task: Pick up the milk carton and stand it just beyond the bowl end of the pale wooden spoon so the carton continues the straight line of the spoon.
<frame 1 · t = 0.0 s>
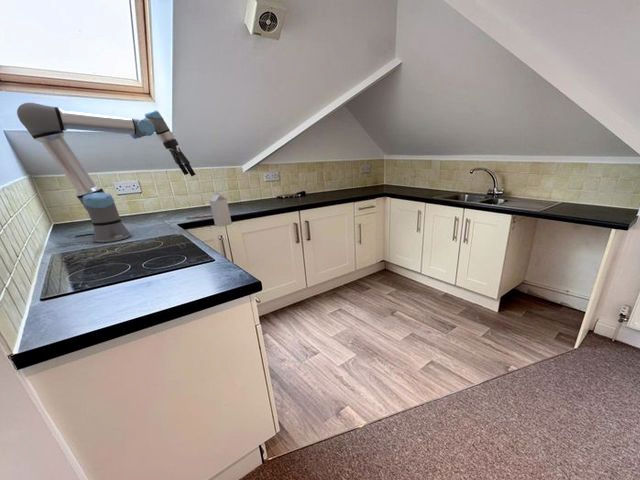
hand: (190, 174, 188), 28 cm above the worktop, tool tilted 20°, fingers open, 13 cm apart
milk carton: (223, 225, 183), on the worktop
wooden spoon: (200, 217, 203), on the worktop
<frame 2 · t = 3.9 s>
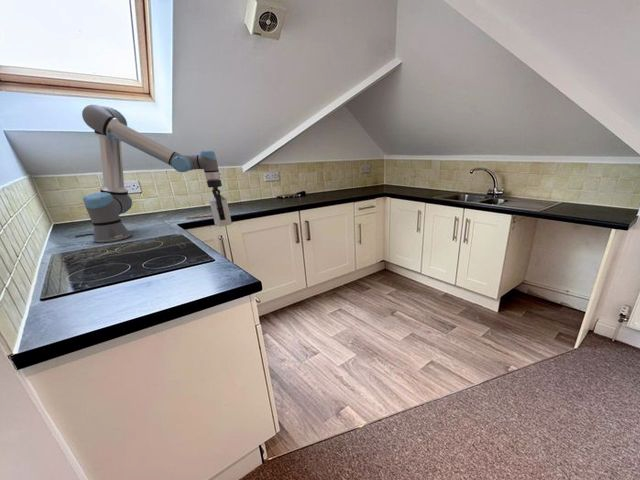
hand: (222, 218, 181), 4 cm above the worktop, tool pointing down, fingers closed on milk carton, 9 cm apart
milk carton: (223, 225, 183), on the worktop, touching gripper
everything else where it was.
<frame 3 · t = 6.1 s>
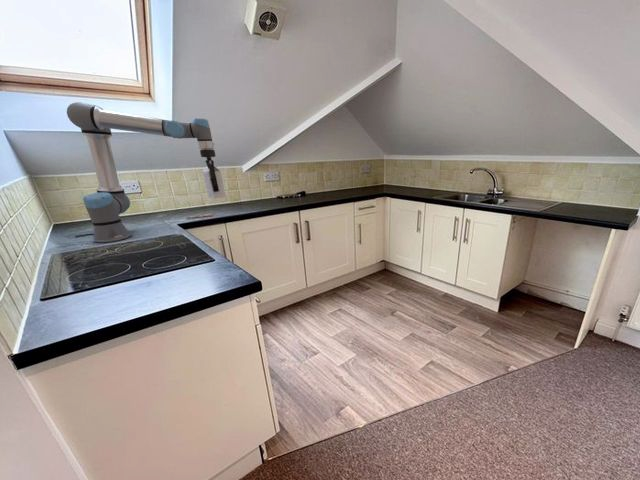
hand: (215, 190, 177), 20 cm above the worktop, tool pointing down, fingers closed on milk carton, 9 cm apart
milk carton: (217, 197, 179), point 16 cm above the worktop, touching gripper
everything else where it was.
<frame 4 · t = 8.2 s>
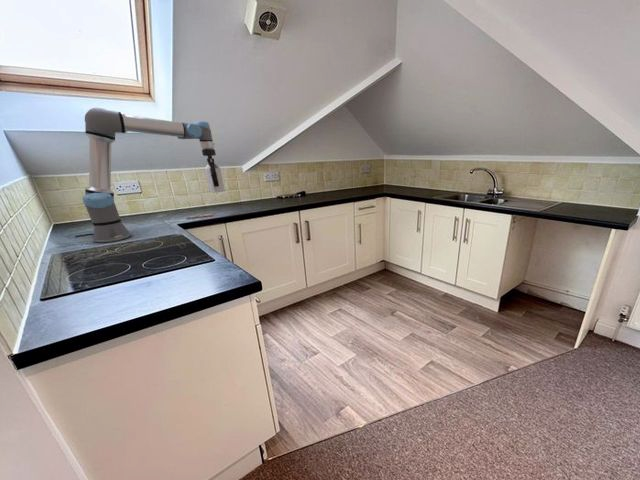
hand: (216, 185, 199), 20 cm above the worktop, tool pointing down, fingers closed on milk carton, 9 cm apart
milk carton: (217, 192, 200), point 16 cm above the worktop, touching gripper
everything else where it was.
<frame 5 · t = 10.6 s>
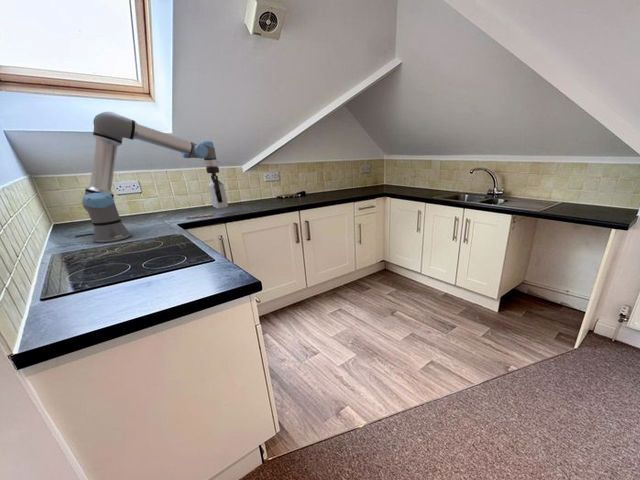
hand: (219, 201, 206), 9 cm above the worktop, tool pointing down, fingers closed on milk carton, 9 cm apart
milk carton: (221, 207, 207), point 5 cm above the worktop, touching gripper
everything else where it was.
when the fingers open (4 cm above the worktop, at t = 12.4 s): milk carton stays where it is, on the worktop.
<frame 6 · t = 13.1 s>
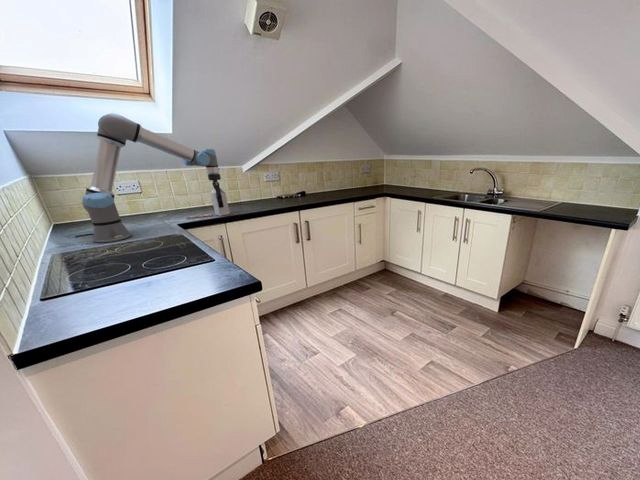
hand: (220, 205, 207), 6 cm above the worktop, tool pointing down, fingers open, 13 cm apart
milk carton: (222, 214, 209), on the worktop
everything else where it was.
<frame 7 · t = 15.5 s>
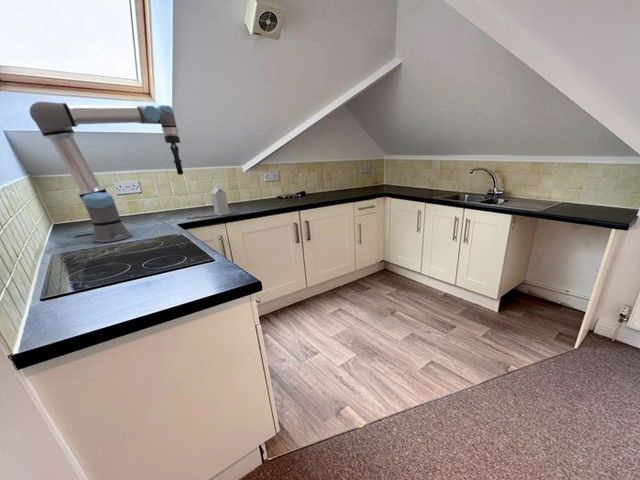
hand: (180, 173, 183), 29 cm above the worktop, tool pointing down, fingers open, 13 cm apart
nothing on the worktop moved.
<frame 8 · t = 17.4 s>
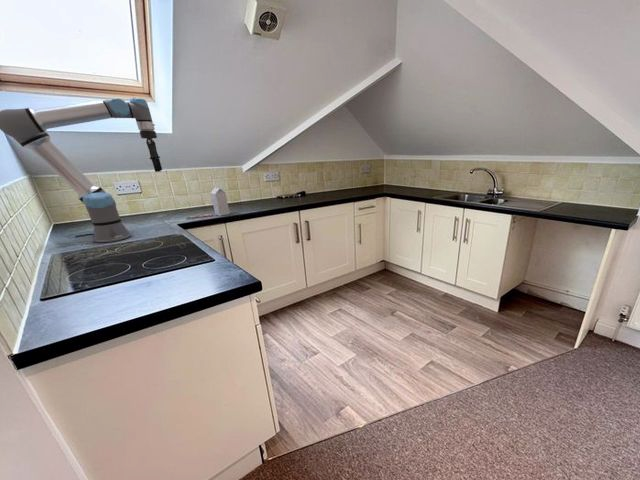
hand: (159, 170, 174), 32 cm above the worktop, tool pointing down, fingers open, 13 cm apart
nothing on the worktop moved.
at the end: milk carton 0.0 cm from the target spot on the worktop beside the wooden spoon, on the worktop; milk carton tilted 0°; the gripper is holding nothing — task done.
